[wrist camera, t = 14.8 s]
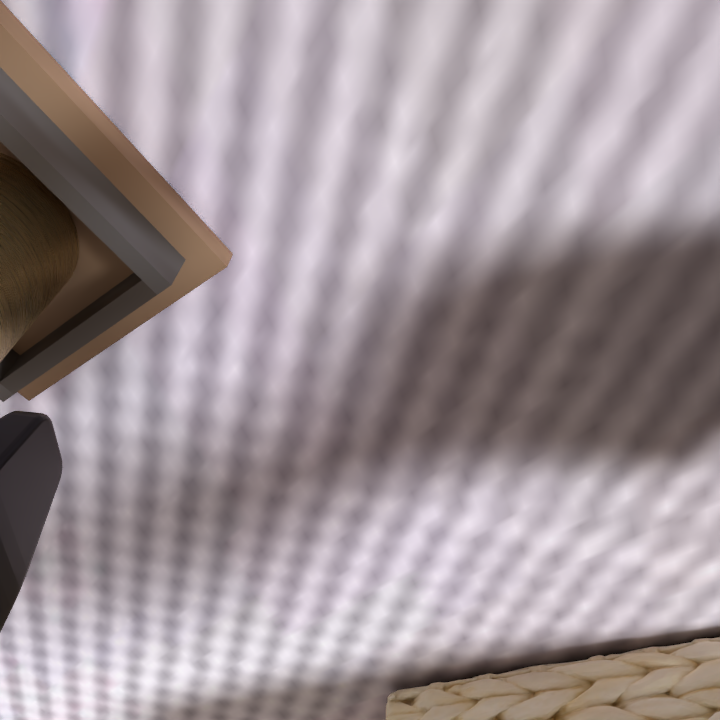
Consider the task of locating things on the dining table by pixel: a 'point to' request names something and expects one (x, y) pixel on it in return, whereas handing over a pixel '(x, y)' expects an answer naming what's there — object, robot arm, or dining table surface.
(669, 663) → the storage basket
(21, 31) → the square brown tray
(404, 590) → the dining table surface
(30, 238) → the billet
